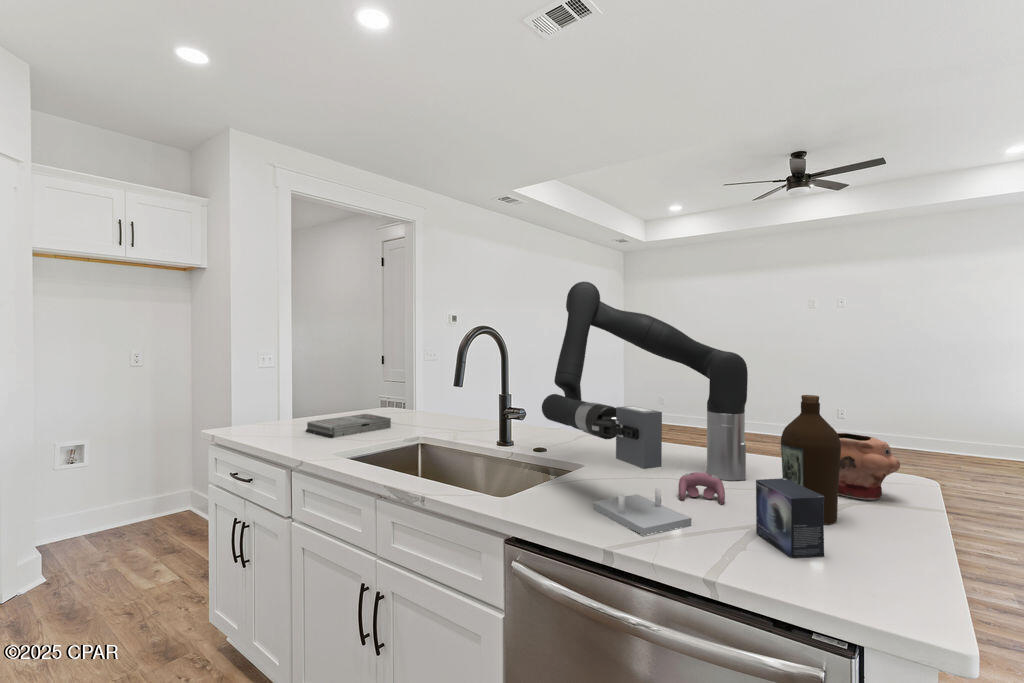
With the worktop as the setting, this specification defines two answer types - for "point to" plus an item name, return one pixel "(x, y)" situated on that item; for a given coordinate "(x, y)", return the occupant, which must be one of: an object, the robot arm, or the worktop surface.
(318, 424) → the hard drive
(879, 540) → the worktop surface
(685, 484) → the video game controller
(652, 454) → the block
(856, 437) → the decorative planter
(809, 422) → the olive oil
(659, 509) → the tray
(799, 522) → the small box
